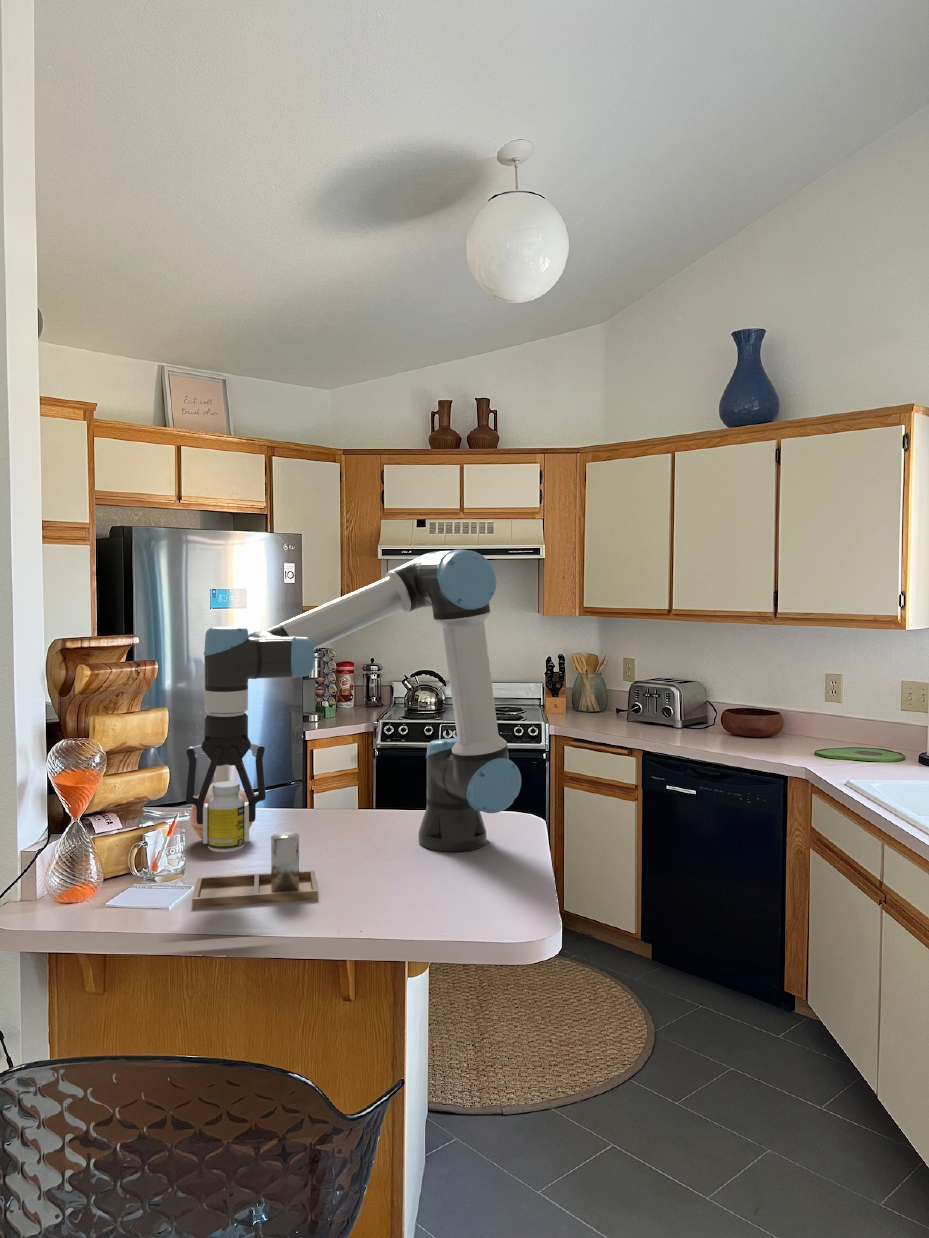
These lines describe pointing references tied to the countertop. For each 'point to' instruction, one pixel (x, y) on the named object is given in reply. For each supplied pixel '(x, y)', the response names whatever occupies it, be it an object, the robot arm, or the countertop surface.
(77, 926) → the countertop surface
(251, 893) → the rack
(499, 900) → the countertop surface
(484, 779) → the robot arm
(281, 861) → the canister
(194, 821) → the vase
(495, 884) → the countertop surface
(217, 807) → the pill bottle
